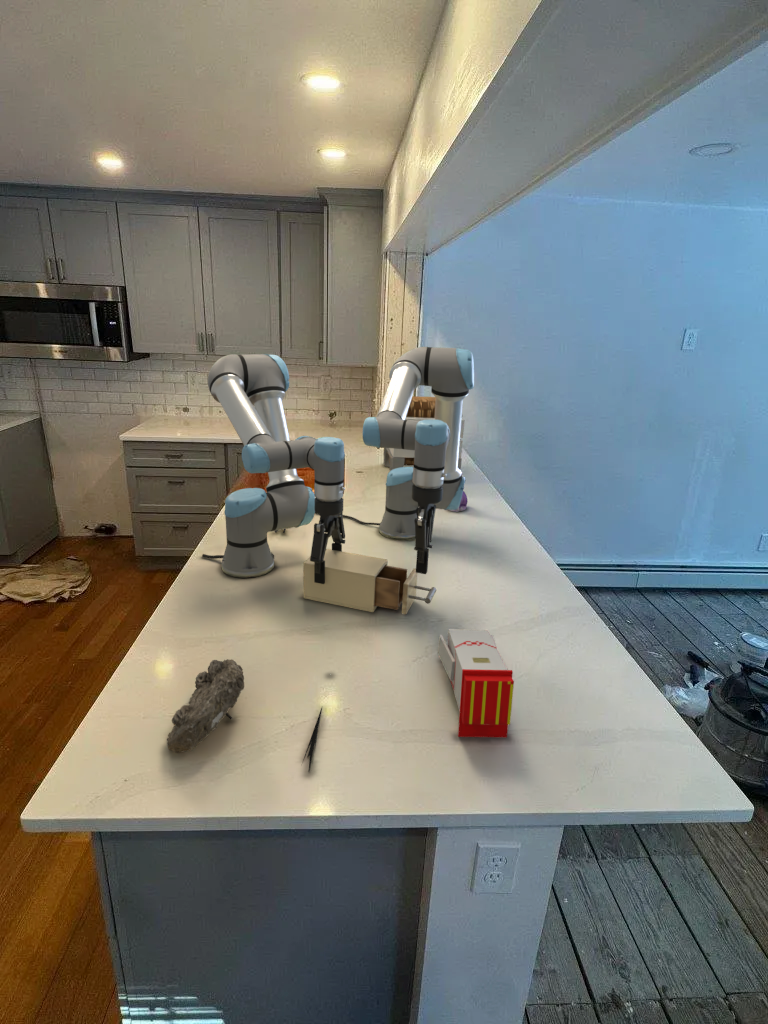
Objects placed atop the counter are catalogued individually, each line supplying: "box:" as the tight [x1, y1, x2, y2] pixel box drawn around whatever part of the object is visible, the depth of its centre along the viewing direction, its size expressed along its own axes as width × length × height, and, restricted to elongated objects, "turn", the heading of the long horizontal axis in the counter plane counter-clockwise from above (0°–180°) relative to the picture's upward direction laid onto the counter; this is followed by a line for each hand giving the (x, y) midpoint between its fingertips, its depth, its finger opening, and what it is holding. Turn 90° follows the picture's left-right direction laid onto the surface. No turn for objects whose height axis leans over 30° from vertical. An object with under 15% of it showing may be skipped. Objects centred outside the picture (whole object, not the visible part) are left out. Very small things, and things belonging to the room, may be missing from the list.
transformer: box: [383, 395, 465, 472], centre depth 268 cm, size 34×33×41 cm
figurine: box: [449, 471, 468, 512], centre depth 225 cm, size 9×10×15 cm
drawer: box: [374, 564, 437, 615], centre depth 150 cm, size 25×10×9 cm, turn 72°
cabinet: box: [302, 548, 388, 613], centre depth 154 cm, size 20×11×11 cm, turn 72°
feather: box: [301, 673, 332, 771], centre depth 108 cm, size 2×28×2 cm
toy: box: [437, 628, 515, 738], centre depth 117 cm, size 12×13×30 cm
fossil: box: [166, 658, 245, 754], centre depth 106 cm, size 22×10×15 cm
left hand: (328, 573), depth 155 cm, fingers closed on cabinet, 11 cm apart
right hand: (421, 572), depth 146 cm, fingers closed
